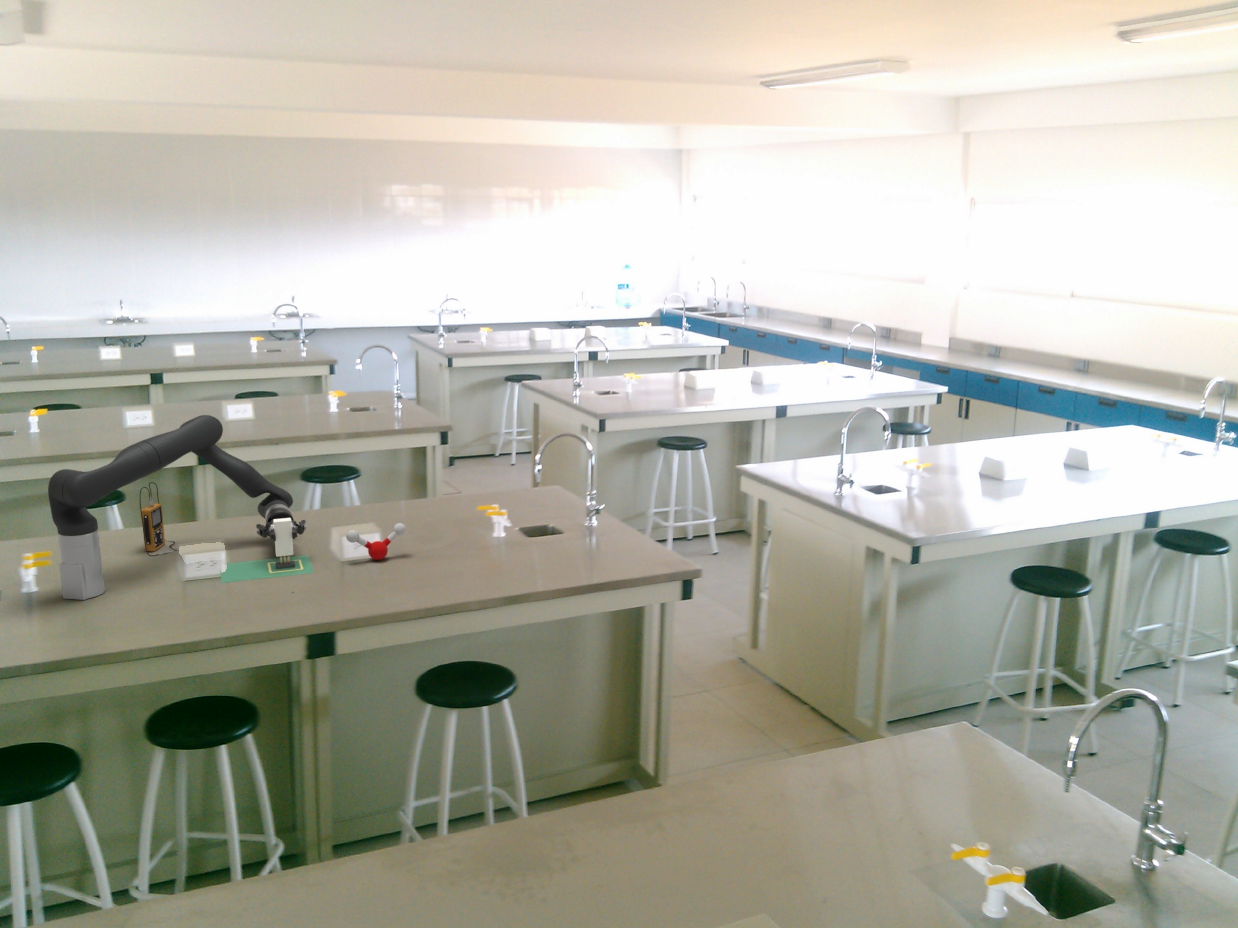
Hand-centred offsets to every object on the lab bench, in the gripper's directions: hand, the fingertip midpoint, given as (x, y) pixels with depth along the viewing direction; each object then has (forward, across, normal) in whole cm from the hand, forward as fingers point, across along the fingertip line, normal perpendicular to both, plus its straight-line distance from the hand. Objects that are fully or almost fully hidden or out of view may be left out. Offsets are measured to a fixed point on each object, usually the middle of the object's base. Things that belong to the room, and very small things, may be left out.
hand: (284, 536), depth 276 cm
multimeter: (-35, -31, +12) cm, 48 cm away
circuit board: (-3, -5, +11) cm, 12 cm away
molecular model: (-4, +26, +11) cm, 29 cm away
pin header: (-3, 0, +10) cm, 10 cm away
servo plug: (-3, 0, +6) cm, 7 cm away
